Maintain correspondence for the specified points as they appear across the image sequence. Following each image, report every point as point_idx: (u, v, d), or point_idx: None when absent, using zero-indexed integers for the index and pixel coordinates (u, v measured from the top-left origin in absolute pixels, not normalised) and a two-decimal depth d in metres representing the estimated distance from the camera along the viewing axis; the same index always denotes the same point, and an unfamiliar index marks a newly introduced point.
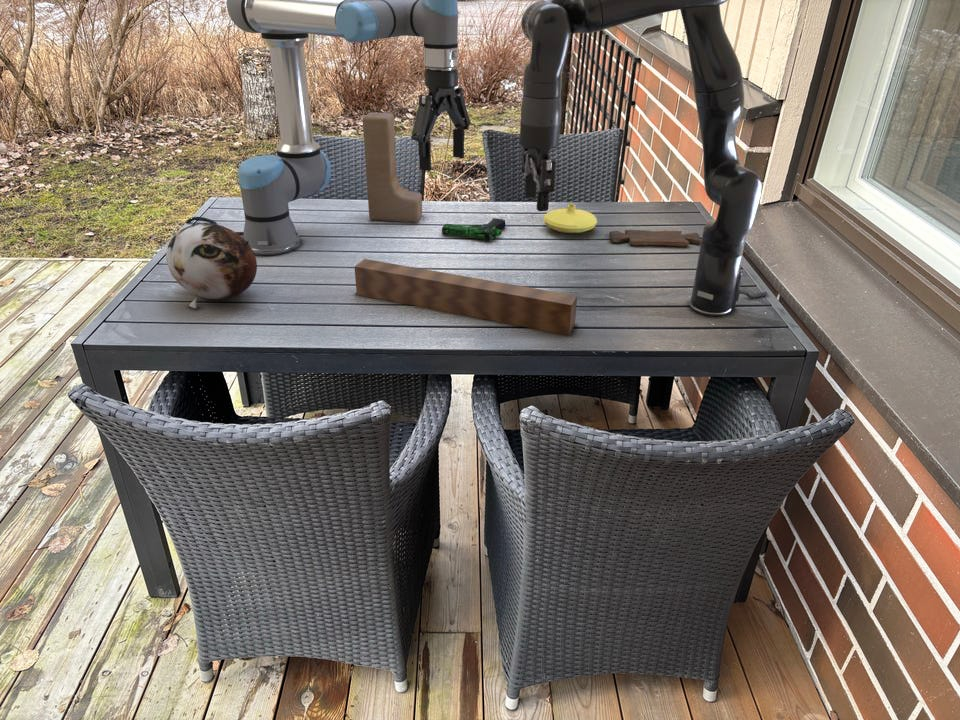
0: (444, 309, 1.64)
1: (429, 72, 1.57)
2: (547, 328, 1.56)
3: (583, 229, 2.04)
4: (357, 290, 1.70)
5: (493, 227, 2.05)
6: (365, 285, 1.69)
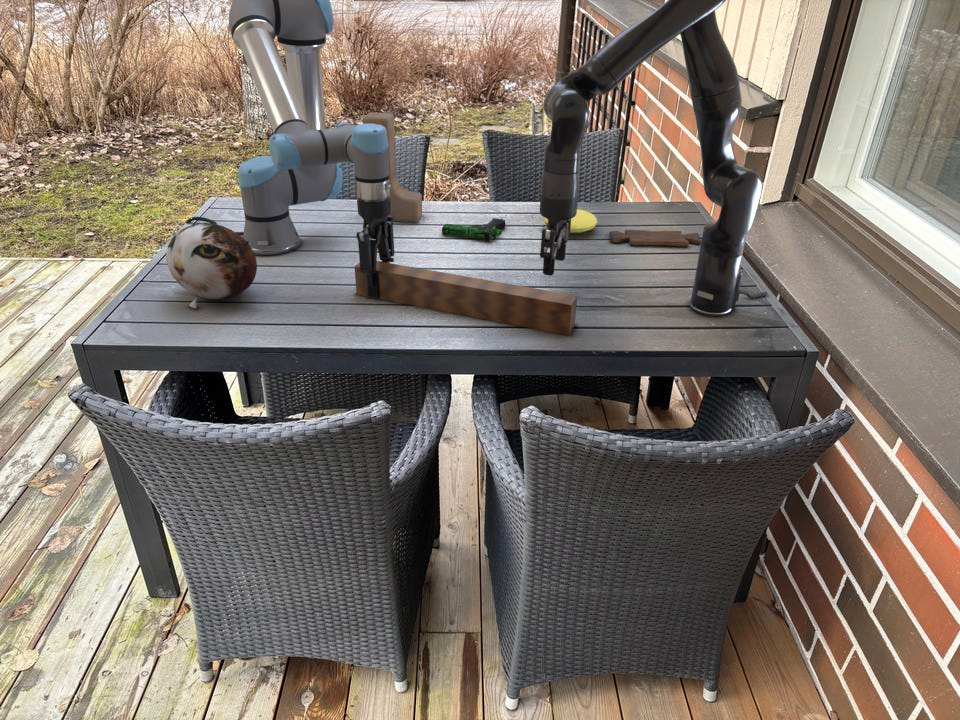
0: (444, 309, 1.64)
1: (363, 204, 1.57)
2: (547, 328, 1.56)
3: (583, 229, 2.04)
4: (357, 290, 1.70)
5: (493, 227, 2.05)
6: (365, 285, 1.69)
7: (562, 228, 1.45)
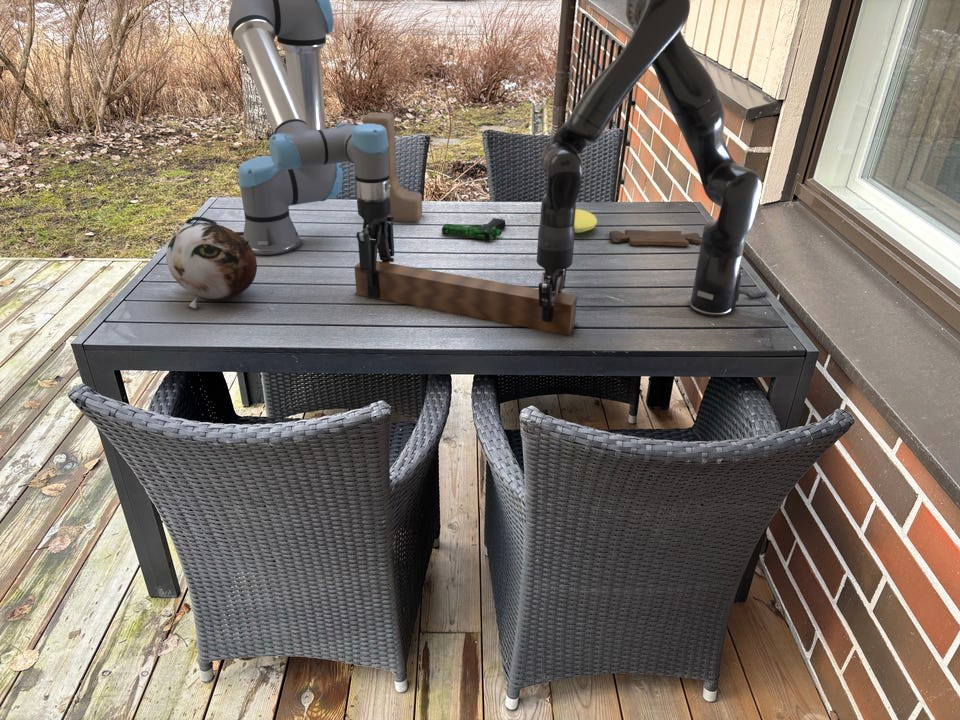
0: (444, 309, 1.64)
1: (363, 204, 1.57)
2: (547, 328, 1.56)
3: (583, 229, 2.04)
4: (357, 290, 1.70)
5: (493, 227, 2.05)
6: (365, 285, 1.69)
7: (558, 278, 1.50)
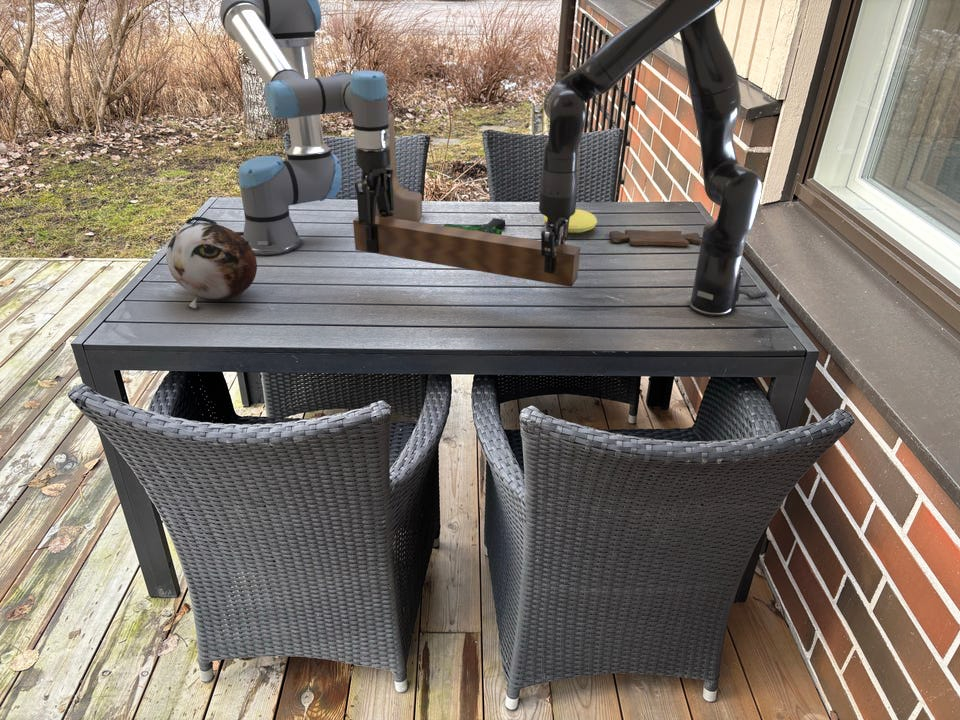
0: (444, 263, 1.61)
1: (362, 153, 1.54)
2: (549, 280, 1.53)
3: (583, 229, 2.04)
4: (356, 245, 1.67)
5: (493, 227, 2.05)
6: (364, 240, 1.66)
7: (561, 226, 1.47)
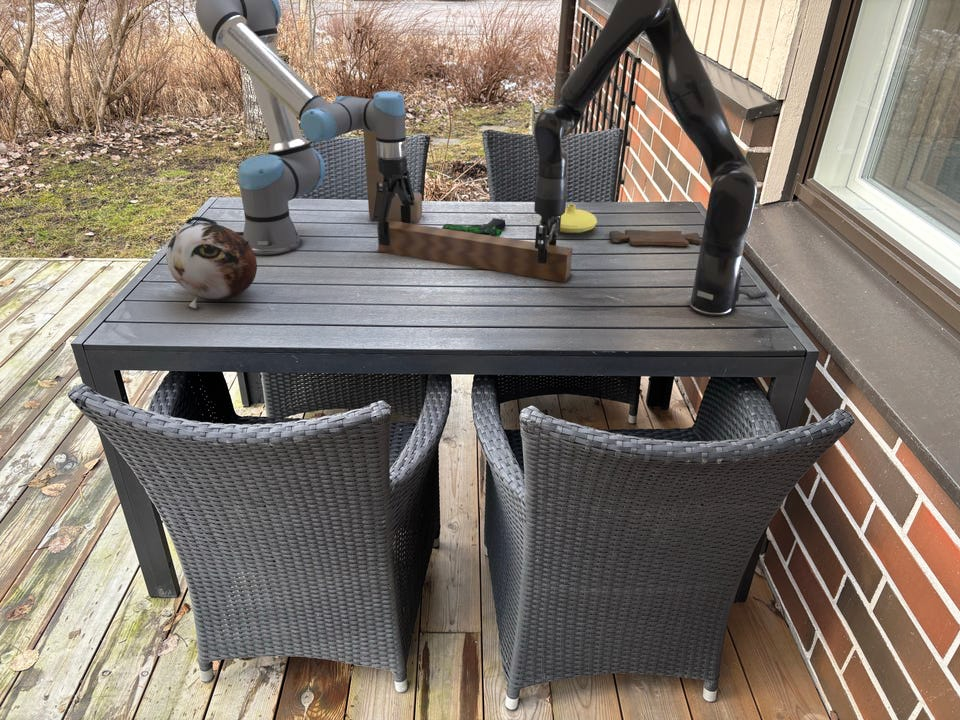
0: (456, 262, 1.87)
1: (383, 162, 1.80)
2: (546, 277, 1.80)
3: (583, 229, 2.04)
4: (379, 247, 1.94)
5: (493, 227, 2.05)
6: None
7: (553, 224, 1.73)
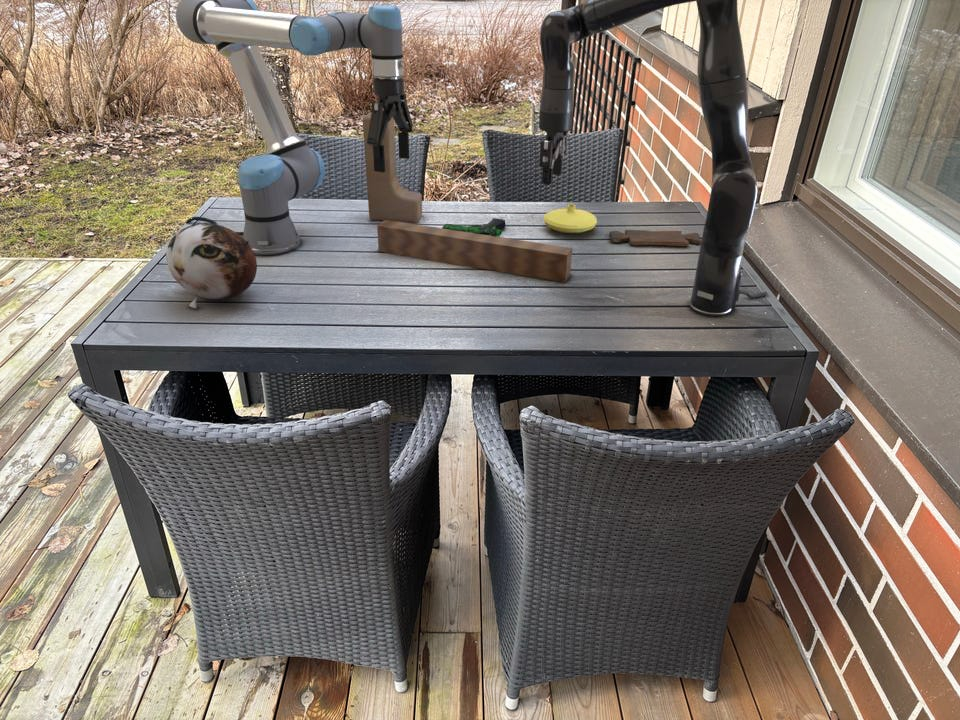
0: (456, 262, 1.87)
1: (379, 81, 1.70)
2: (546, 277, 1.80)
3: (583, 229, 2.04)
4: (379, 247, 1.94)
5: (493, 227, 2.05)
6: (386, 243, 1.92)
7: (559, 141, 1.63)
